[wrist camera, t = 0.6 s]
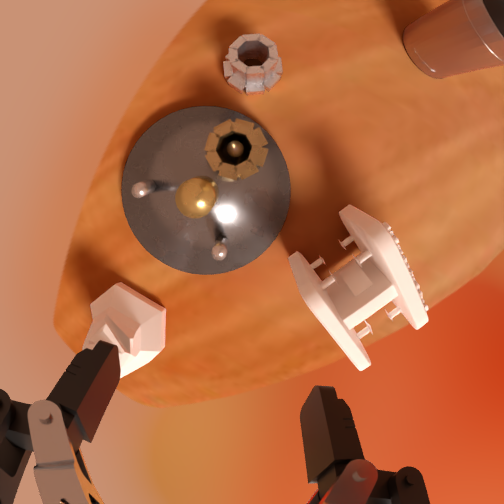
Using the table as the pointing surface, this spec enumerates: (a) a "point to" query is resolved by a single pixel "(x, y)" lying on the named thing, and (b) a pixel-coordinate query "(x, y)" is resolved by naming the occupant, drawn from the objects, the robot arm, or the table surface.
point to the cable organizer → (361, 284)
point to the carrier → (202, 194)
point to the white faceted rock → (128, 326)
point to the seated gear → (217, 144)
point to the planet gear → (252, 76)
